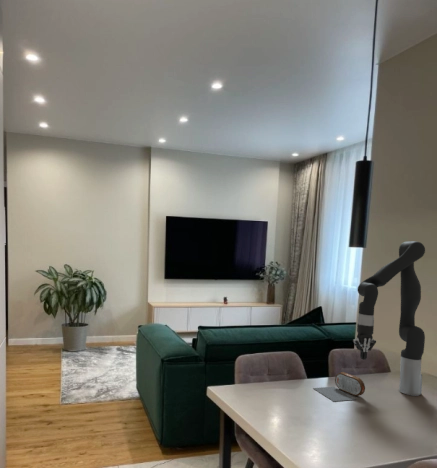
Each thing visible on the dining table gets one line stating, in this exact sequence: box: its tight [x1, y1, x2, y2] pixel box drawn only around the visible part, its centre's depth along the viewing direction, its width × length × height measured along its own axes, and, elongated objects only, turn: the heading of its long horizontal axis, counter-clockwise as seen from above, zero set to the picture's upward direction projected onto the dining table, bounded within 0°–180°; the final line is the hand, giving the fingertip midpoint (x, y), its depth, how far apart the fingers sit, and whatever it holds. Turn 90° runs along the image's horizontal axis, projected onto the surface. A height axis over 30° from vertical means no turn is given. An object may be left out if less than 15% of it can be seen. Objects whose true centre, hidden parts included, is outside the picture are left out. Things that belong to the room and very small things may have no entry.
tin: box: [334, 371, 366, 397], centre depth 180 cm, size 15×3×8 cm, turn 37°
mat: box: [312, 386, 357, 403], centre depth 177 cm, size 12×16×1 cm
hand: (363, 359), depth 183 cm, fingers closed
